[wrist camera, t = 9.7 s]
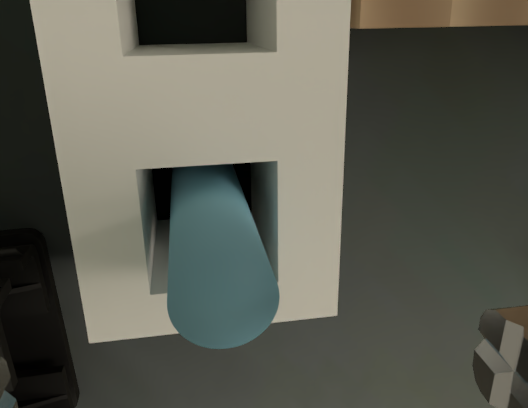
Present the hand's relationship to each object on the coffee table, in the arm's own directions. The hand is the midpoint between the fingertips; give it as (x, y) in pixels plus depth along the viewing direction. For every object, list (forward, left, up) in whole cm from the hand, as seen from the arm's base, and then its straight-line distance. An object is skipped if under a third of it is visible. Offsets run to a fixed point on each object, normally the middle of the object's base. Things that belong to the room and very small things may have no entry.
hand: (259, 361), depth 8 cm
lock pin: (0, 0, -13) cm, 13 cm away
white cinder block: (0, -3, -13) cm, 13 cm away
